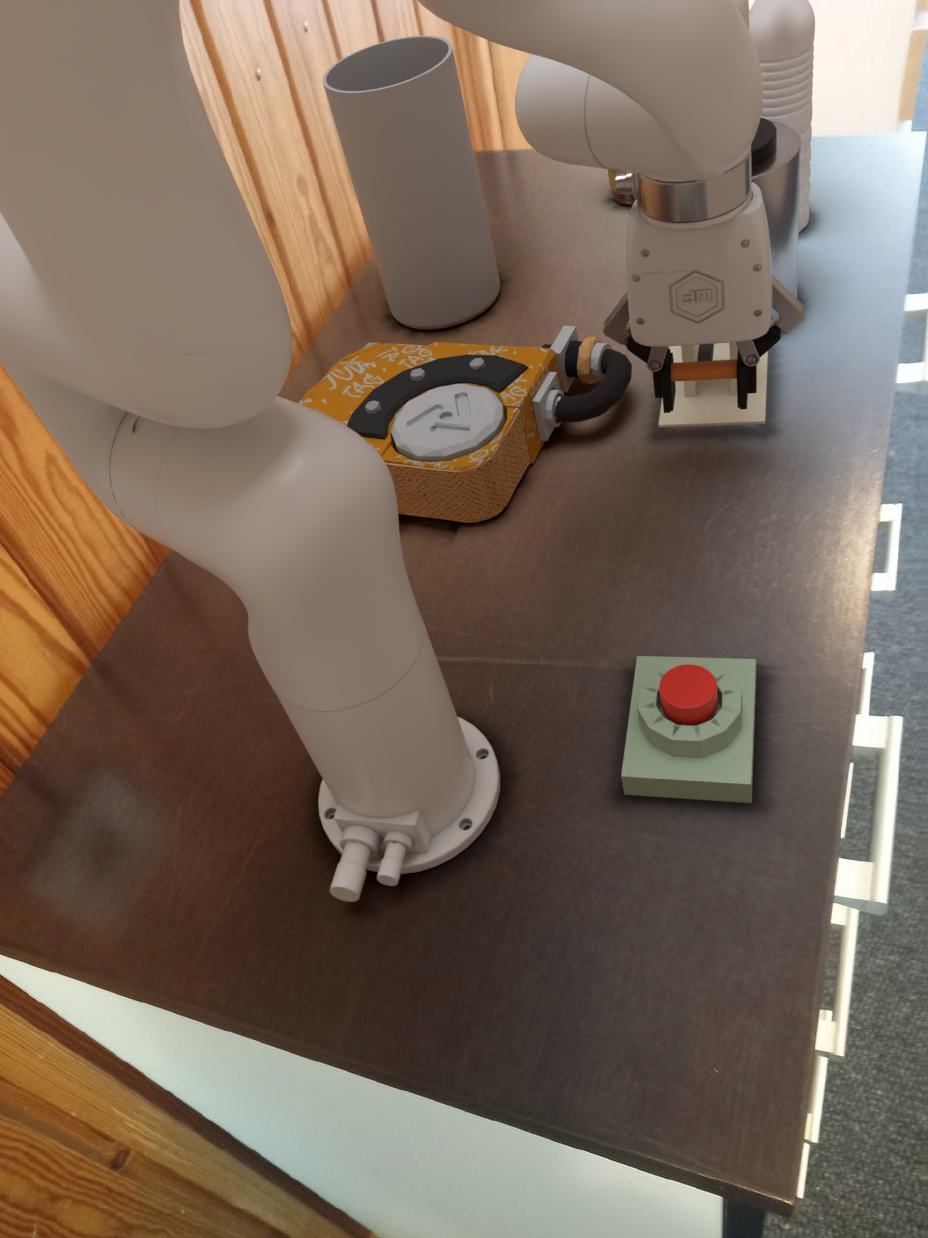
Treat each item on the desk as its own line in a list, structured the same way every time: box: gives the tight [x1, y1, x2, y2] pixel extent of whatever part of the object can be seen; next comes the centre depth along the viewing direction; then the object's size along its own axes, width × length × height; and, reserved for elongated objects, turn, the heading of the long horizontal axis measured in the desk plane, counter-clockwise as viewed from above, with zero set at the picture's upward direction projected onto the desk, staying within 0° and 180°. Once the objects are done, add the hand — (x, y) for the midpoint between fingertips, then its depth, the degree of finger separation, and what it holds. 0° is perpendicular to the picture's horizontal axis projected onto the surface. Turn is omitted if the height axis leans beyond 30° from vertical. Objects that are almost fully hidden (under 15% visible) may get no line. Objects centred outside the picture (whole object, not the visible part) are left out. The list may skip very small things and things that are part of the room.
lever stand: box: [657, 342, 769, 429], centre depth 89 cm, size 12×9×12 cm
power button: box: [659, 664, 718, 725], centre depth 66 cm, size 4×4×2 cm
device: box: [297, 325, 633, 524], centre depth 93 cm, size 23×8×30 cm
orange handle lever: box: [671, 344, 737, 382], centre depth 83 cm, size 12×5×2 cm, turn 168°
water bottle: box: [749, 0, 816, 233], centre depth 101 cm, size 9×6×25 cm
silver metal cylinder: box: [751, 118, 801, 318], centre depth 96 cm, size 14×12×17 cm
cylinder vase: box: [322, 35, 501, 330], centre depth 105 cm, size 12×12×25 cm
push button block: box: [620, 655, 757, 804], centre depth 68 cm, size 10×8×4 cm
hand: (706, 398), depth 83 cm, fingers closed on orange handle lever, 5 cm apart
